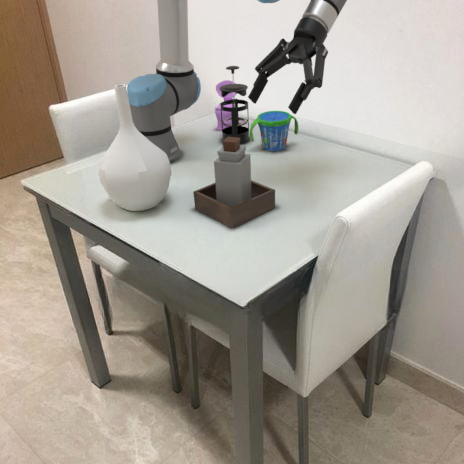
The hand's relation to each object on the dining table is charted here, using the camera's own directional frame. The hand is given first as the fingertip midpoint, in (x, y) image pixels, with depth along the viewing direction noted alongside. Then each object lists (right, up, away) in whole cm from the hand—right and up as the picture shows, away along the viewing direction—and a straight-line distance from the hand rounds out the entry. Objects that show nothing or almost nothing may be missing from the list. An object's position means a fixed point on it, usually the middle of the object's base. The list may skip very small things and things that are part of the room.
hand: (271, 105), depth 122 cm
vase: (-34, -22, +12) cm, 42 cm away
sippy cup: (+4, +1, +40) cm, 40 cm away
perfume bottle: (-9, -24, +7) cm, 27 cm away
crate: (-9, -24, +7) cm, 26 cm away
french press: (-8, +7, +47) cm, 48 cm away
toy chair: (-11, +15, +58) cm, 61 cm away
